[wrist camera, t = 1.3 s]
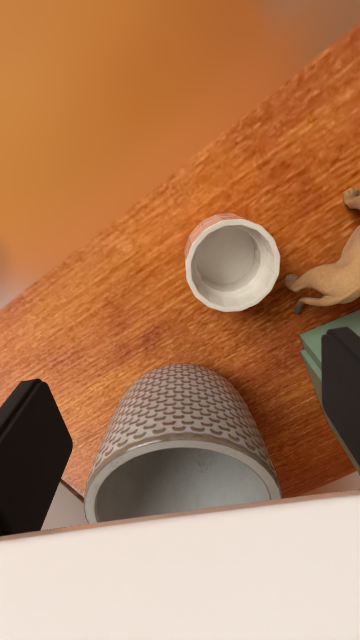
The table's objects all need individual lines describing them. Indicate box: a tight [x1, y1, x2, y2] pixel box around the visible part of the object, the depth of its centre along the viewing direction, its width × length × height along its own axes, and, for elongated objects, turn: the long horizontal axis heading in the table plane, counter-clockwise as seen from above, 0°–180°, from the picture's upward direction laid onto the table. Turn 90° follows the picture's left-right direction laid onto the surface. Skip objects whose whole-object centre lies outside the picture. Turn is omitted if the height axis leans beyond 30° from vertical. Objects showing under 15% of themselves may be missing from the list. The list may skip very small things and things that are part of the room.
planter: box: [84, 363, 282, 524], centre depth 27 cm, size 14×14×13 cm
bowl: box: [184, 213, 280, 312], centre depth 25 cm, size 7×7×5 cm
